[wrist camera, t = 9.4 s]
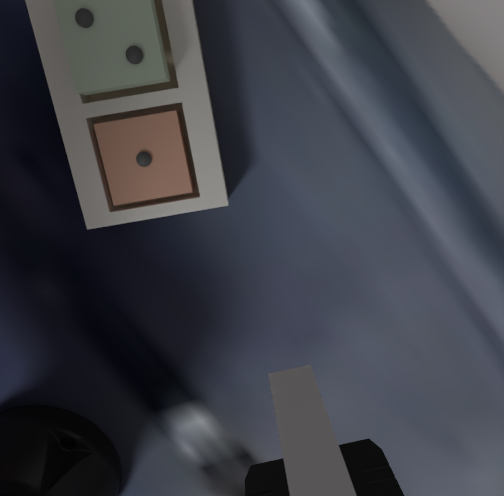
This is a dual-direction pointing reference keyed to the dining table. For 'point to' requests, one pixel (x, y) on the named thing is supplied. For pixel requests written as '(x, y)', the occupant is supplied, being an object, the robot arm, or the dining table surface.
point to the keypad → (134, 105)
